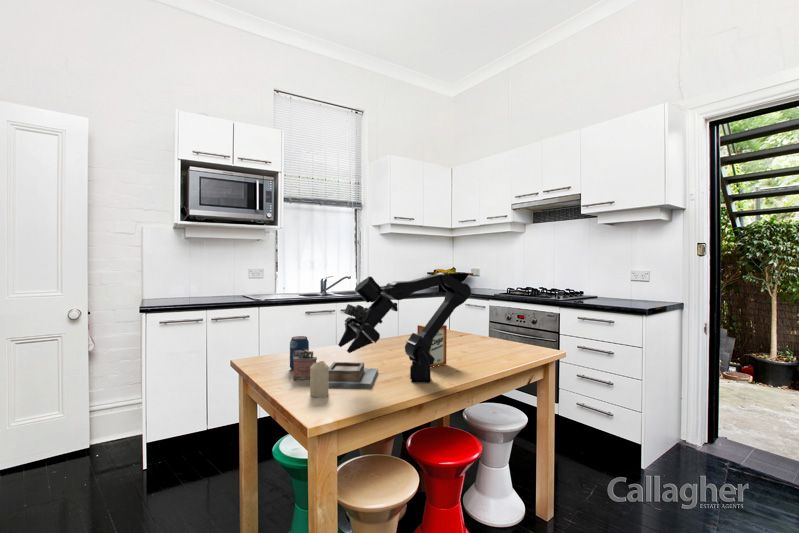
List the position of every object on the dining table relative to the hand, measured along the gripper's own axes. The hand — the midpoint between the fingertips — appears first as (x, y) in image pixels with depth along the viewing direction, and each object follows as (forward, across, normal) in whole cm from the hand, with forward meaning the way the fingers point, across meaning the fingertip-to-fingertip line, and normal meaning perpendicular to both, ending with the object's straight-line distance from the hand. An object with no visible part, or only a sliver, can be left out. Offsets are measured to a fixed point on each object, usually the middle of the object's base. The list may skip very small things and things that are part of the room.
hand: (343, 349), depth 124 cm
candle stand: (+6, -12, +13) cm, 18 cm away
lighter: (+15, -18, +4) cm, 24 cm away
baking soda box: (-20, -16, +39) cm, 47 cm away
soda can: (+15, -31, +4) cm, 35 cm away
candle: (+15, 0, +4) cm, 15 cm away
